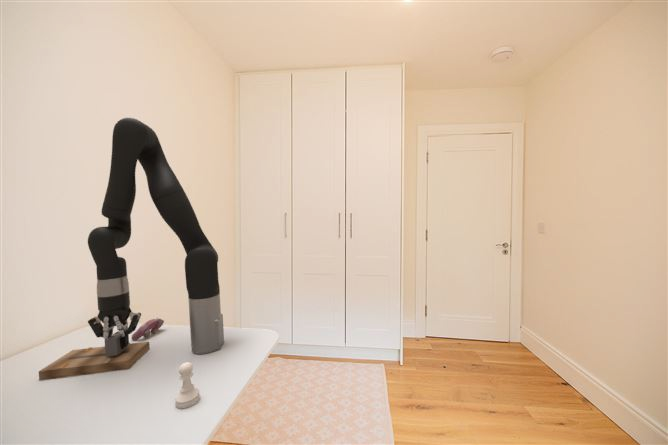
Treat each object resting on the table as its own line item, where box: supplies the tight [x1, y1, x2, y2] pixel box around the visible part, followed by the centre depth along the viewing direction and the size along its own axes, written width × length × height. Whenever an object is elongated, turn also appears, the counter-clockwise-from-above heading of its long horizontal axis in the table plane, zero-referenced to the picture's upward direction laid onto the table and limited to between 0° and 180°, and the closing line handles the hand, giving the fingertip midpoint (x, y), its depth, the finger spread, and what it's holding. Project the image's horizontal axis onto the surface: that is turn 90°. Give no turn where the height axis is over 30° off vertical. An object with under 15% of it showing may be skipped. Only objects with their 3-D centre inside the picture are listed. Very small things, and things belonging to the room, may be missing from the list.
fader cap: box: [104, 330, 129, 357], centre depth 83 cm, size 3×6×5 cm, turn 10°
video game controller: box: [131, 317, 165, 341], centre depth 101 cm, size 10×5×7 cm, turn 169°
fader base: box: [38, 341, 151, 381], centre depth 82 cm, size 22×12×3 cm, turn 100°
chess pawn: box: [174, 362, 201, 410], centre depth 63 cm, size 5×5×9 cm
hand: (117, 348), depth 83 cm, fingers closed on fader cap, 3 cm apart
